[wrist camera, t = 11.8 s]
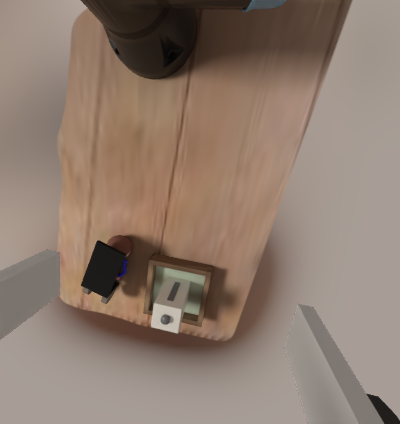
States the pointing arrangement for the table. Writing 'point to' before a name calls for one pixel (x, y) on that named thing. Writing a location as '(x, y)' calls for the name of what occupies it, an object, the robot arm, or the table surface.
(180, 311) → the strip block
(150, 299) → the brown wooden square tray
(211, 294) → the table surface
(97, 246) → the figurine character
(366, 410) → the robot arm
